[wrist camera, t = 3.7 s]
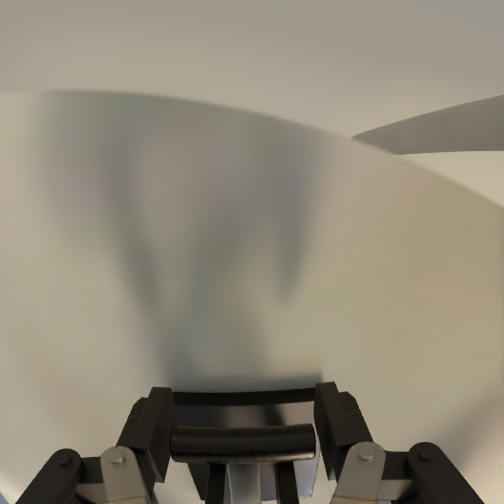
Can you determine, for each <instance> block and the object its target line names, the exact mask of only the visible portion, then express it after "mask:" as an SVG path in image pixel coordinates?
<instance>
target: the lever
mask: <svg viewBox="0 0 504 504" xmlns="http://www.w3.org/2000/svg"><path fill="white" fill-rule="evenodd" d="M169 445H170V454H171V457H172V459H173V461H175V462H182V463H197V464H227V465H228V475H229V485H230V495H231V504H262V503H261V483H260V464H267V463H282V462H294V461H303V460H312V459H314V458H315V455H316V436H315V430H314V427H313V425H312V424H311V423H305V424H294V425H282V426H267V427H242V428H207V427H182V426H175V427H173V429H172V431H171V434H170V443H169Z"/></svg>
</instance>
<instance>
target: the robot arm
mask: <svg viewBox="0 0 504 504" xmlns="http://www.w3.org/2000/svg"><path fill="white" fill-rule="evenodd" d="M313 415H314V423H315V427H316V431H317V435H318V439H319V443H320V448H321V452H322V456H323V460H324V464H325V469H326V473H327V477H328V480H335V479H336V481H337V487H336V489H335V492H334V495H333V497H332V499H331V502H330V504H378V501H377V500H390V501H391V503H392V504H484V502H483V501H482V500H481V499H480V497H479V496H478V495H477V494H476V492H475V491H474V490H473V489H472V487H471V486H470V485H469V484H468V482H467V481H466V480H465V479H464V477H463V476H462V475H461V474H460V472H459V471H458V470H457V469H456V467H455V466H454V465H453V464H452V462H451V461H450V460H449V459H448V458H447V456H446V455H445V454H444V453H443V451H442V450H441V449H440V448H439V447H438V446H437V445H435V444H433V443H429V442H422V443H418V444H416V445H414V446H412V447H411V448H410V450H409V452H391V451H386V450H384V449H383V448H382V447H381V446H380V445H378V444H376V443H374V441H373V439H372V437H371V434H370V432H369V430H368V427H367V425H366V423H365V420H364V418H363V416H362V413H361V411H360V409H359V406H358V404H357V402H356V399H355V398H354V397H353V396H352V395H351V394H349V393H348V392H347V391H346V392H338V389H337V387H336V384H335V382H325V383H317V384H316V388H315V399H314V409H313ZM175 426H178V412H177V409H176V405H175V401H174V397H173V393H172V390H171V388H166V387H153V388H152V389H151V392H150V394H149V397H148V398H144V397H141V398H140V399H139V400H138V401H137V402H136V403H135V404H134V405H133V408H132V410H131V412H130V415H129V417H128V419H127V422H126V423H125V426H124V428H123V430H122V433H121V435H120V437H119V440H118V442H117V444H116V446H115V447H111V448H109V449H107V450H106V451H104V452H103V454H102V455H101V456H100V457H86V458H81V457H80V455H79V454H78V453H77V452H76V451H75V450H72V449H60V450H58V451H56V452H55V453H54V454H53V455H52V456H51V457H50V459H49V460H48V461H47V462H46V464H45V465H44V466H43V468H42V469H41V470H40V472H39V473H38V474H37V475H36V477H35V478H34V479H33V481H32V482H31V483H30V485H29V486H28V487H27V489H26V490H25V491H24V493H23V494H22V495H21V497H20V498H19V499H18V501H17V502H16V503H15V504H159V503H158V500H157V498H156V495H155V492H154V490H153V489H154V485H155V482H160V483H164V480H165V476H166V472H167V468H168V464H169V459H170V455H171V454H170V445H169V443H170V434H171V431H172V429H173V427H175Z"/></svg>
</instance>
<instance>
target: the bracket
mask: <svg viewBox="0 0 504 504" xmlns="http://www.w3.org/2000/svg"><path fill="white" fill-rule="evenodd" d="M173 397H174V401H175V405H176V409H177V412H178V426H182V427H207V428H242V427H267V426H282V425H294V424H305V423H311V424H312V425H313V427H314V430H315V436H316V455H315V458H314V459H312V460H303V461H294V462H282V463H267V464H260V483H261V501H269V500H277V504H299V498H304V497H311V496H312V492H313V487H314V482H315V477H316V472H317V466H318V461H319V455H320V450H321V448H320V443H319V439H318V435H317V431H316V427H315V423H314V415H313V409H314V399H315V388H306V389H295V390H282V391H267V392H244V393H186V392H173ZM187 464H188V467H189V470H190V472H191V475H192V478H193V481H194V483H195V486H196V489H197V491H198V494H199V496H200V499H201V500H205V504H231V495H230V485H229V475H228V465H227V464H197V463H187Z"/></svg>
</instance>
